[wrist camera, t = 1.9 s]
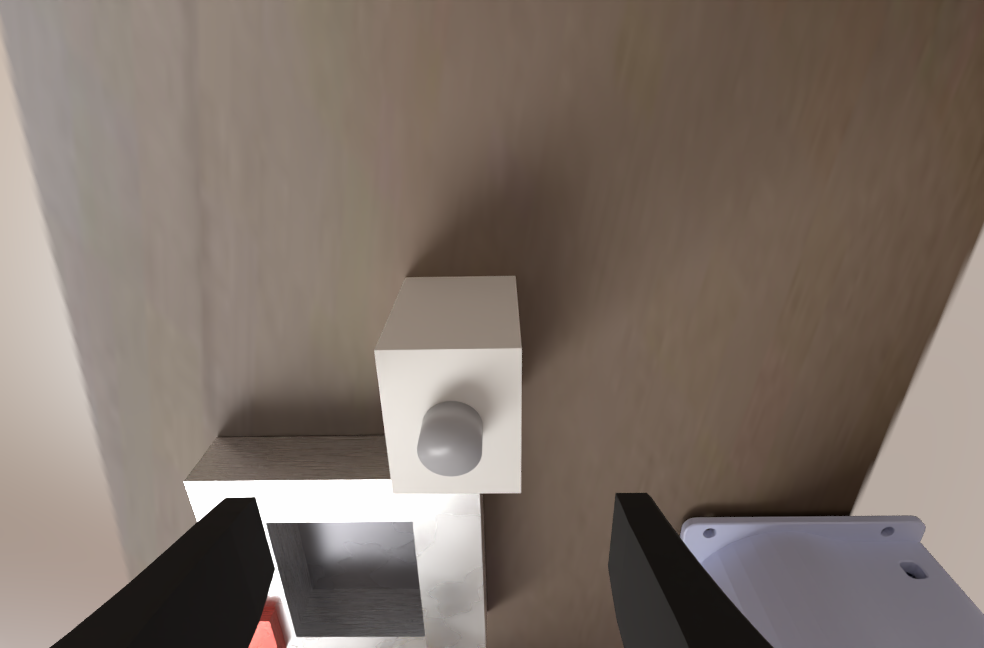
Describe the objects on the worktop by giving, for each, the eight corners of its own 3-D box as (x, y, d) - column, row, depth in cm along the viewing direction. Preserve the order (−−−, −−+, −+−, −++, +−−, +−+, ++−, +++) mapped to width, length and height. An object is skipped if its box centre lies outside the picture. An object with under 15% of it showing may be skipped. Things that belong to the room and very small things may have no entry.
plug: (515, 275, 18) (523, 369, 12) (515, 394, 20) (522, 520, 14) (405, 276, 18) (365, 371, 12) (416, 395, 20) (386, 521, 14)
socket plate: (481, 434, 20) (478, 491, 18) (487, 613, 25) (486, 680, 22) (216, 437, 21) (173, 493, 18) (268, 614, 25) (240, 681, 22)
